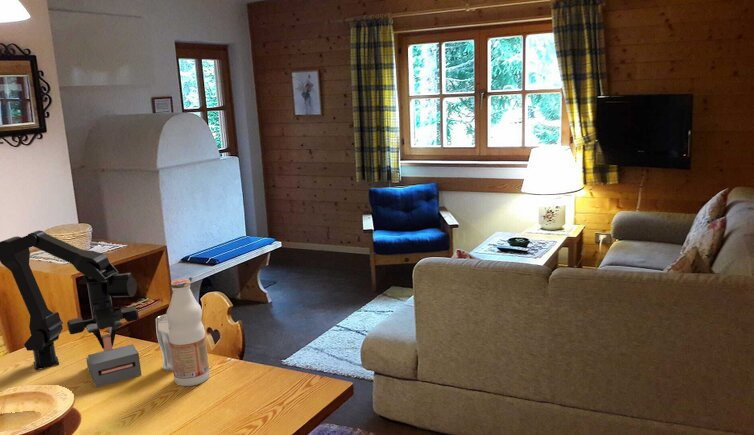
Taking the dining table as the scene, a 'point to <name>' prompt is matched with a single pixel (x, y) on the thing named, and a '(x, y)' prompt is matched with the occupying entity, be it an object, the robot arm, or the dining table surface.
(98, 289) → the robot arm
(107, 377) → the grey slotted box
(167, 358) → the beer glass
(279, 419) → the dining table surface
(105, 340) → the pink t-shaped block
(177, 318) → the fruit juice
